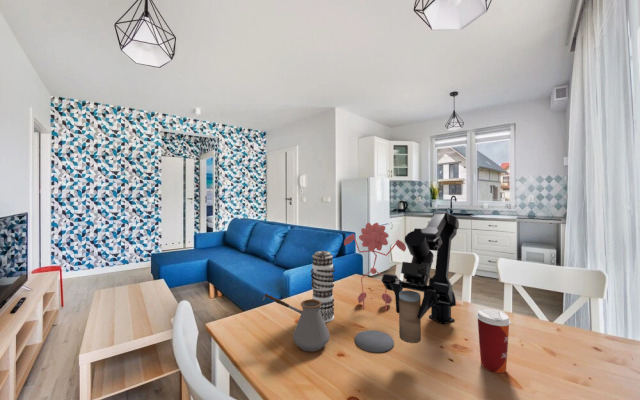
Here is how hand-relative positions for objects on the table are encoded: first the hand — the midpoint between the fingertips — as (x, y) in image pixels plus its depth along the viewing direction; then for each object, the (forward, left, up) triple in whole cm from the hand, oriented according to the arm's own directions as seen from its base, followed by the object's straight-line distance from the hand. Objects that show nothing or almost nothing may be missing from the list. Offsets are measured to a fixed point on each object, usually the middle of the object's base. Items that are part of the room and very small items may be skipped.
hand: (407, 315), depth 71 cm
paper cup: (-20, +10, -14) cm, 26 cm away
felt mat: (+2, -13, -13) cm, 19 cm away
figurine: (-16, -39, -14) cm, 45 cm away
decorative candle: (+10, -35, -14) cm, 39 cm away
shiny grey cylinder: (-1, -1, -7) cm, 7 cm away
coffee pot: (+25, -22, -14) cm, 36 cm away
